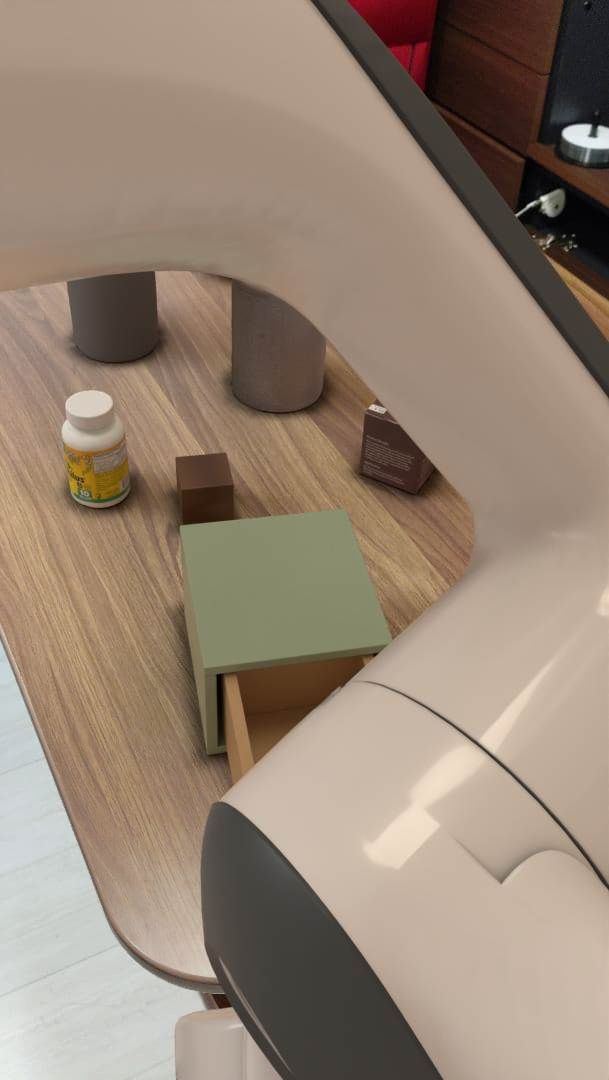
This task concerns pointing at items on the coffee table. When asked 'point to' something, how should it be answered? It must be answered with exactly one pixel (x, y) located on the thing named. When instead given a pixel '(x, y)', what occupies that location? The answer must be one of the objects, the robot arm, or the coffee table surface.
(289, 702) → the drawer
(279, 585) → the cabinet
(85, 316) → the mug
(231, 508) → the block
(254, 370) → the pillar candle
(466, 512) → the coffee table surface
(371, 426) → the box
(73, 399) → the supplement bottle
